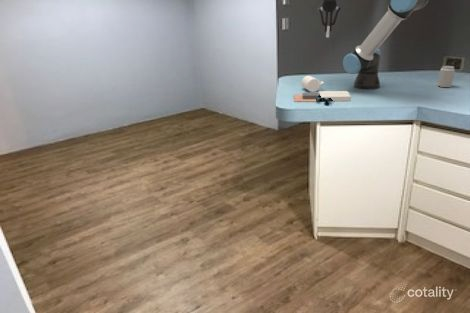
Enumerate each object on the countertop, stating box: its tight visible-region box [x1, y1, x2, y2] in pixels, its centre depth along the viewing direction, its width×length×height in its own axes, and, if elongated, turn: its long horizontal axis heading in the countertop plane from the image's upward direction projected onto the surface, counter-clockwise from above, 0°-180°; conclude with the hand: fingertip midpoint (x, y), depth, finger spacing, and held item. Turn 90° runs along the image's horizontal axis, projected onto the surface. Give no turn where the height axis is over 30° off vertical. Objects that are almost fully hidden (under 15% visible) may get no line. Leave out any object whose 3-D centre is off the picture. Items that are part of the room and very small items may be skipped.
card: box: [301, 92, 319, 99], centre depth 209 cm, size 9×6×2 cm, turn 83°
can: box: [437, 65, 456, 88], centre depth 219 cm, size 8×8×12 cm
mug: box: [301, 75, 325, 93], centre depth 226 cm, size 12×10×8 cm
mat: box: [293, 94, 316, 103], centre depth 210 cm, size 14×14×1 cm
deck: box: [318, 90, 352, 102], centre depth 207 cm, size 16×12×2 cm
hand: (327, 37), depth 225 cm, fingers closed
